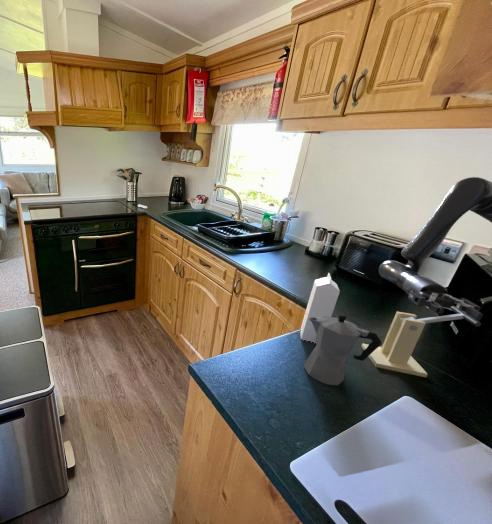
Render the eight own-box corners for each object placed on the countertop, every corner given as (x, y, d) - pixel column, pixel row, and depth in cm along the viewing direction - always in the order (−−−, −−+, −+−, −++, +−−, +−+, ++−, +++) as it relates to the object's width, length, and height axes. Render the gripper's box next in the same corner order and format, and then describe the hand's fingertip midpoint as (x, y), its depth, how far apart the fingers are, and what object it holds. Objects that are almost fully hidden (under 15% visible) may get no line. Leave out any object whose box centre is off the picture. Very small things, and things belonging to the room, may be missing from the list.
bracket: (406, 355, 88) (425, 312, 82) (426, 377, 78) (449, 331, 73) (361, 346, 91) (377, 304, 85) (375, 366, 81) (394, 321, 76)
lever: (456, 311, 80) (455, 303, 79) (481, 328, 72) (480, 319, 71) (394, 319, 85) (393, 312, 84) (411, 335, 77) (410, 328, 76)
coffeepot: (294, 373, 77) (312, 314, 71) (297, 354, 84) (313, 300, 78) (364, 399, 69) (391, 336, 63) (361, 377, 77) (384, 318, 71)
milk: (300, 339, 92) (319, 276, 84) (299, 330, 97) (317, 270, 90) (322, 345, 90) (343, 281, 82) (320, 335, 95) (339, 274, 87)
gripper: (401, 275, 92) (433, 297, 77) (456, 283, 89) (501, 307, 74) (393, 296, 95) (422, 321, 80) (445, 304, 91) (487, 332, 76)
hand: (460, 314), depth 77 cm, fingers open, 7 cm apart
